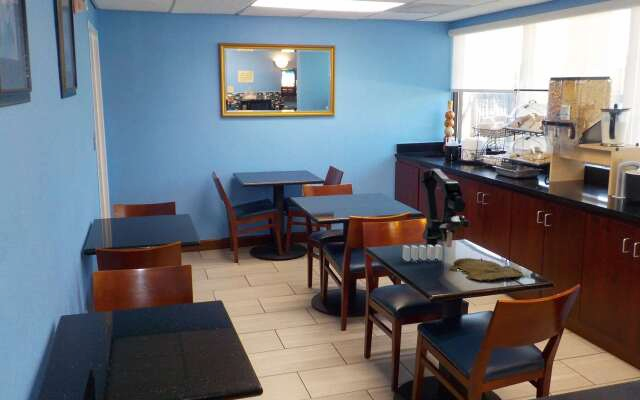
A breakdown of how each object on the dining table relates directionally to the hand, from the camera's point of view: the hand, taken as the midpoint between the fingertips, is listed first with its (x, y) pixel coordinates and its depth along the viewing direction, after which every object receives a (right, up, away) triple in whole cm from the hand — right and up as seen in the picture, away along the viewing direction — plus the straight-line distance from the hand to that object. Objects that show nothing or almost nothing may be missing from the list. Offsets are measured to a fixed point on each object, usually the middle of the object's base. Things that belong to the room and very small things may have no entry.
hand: (447, 241), depth 271 cm
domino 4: (-8, -9, -1) cm, 12 cm away
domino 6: (0, -2, 0) cm, 2 cm away
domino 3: (-12, -9, -1) cm, 15 cm away
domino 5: (-4, -9, 0) cm, 10 cm away
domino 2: (-16, -9, -2) cm, 18 cm away
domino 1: (-20, -9, -3) cm, 22 cm away
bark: (+13, -13, -18) cm, 26 cm away
